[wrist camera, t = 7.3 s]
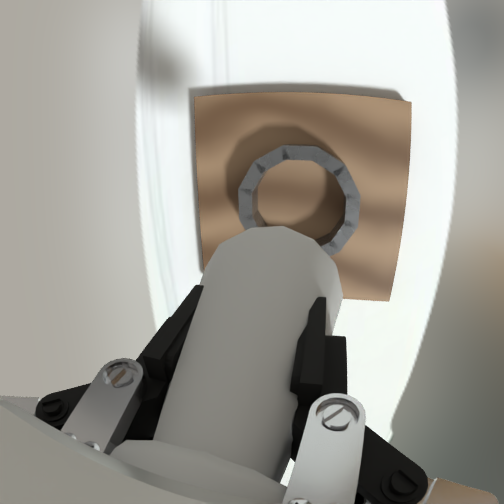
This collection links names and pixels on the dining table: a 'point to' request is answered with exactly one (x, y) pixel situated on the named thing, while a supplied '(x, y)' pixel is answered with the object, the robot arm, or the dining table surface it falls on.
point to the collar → (315, 153)
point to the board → (309, 174)
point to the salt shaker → (240, 367)
